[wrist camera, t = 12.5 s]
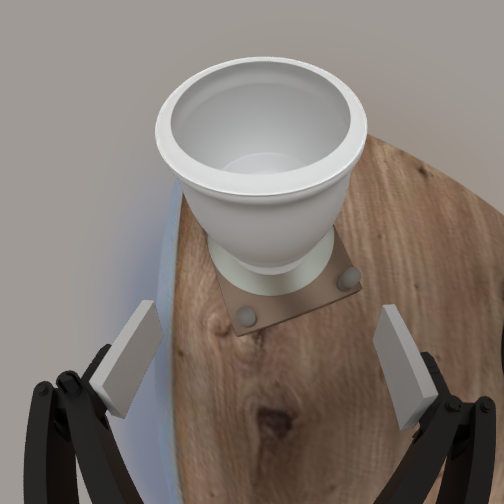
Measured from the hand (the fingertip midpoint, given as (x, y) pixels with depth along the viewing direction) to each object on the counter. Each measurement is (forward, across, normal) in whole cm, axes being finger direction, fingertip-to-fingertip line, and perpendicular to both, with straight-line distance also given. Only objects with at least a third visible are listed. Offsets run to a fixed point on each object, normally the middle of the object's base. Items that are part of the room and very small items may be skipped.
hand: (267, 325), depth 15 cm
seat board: (+13, 0, -1) cm, 13 cm away
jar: (+12, 0, +1) cm, 12 cm away
